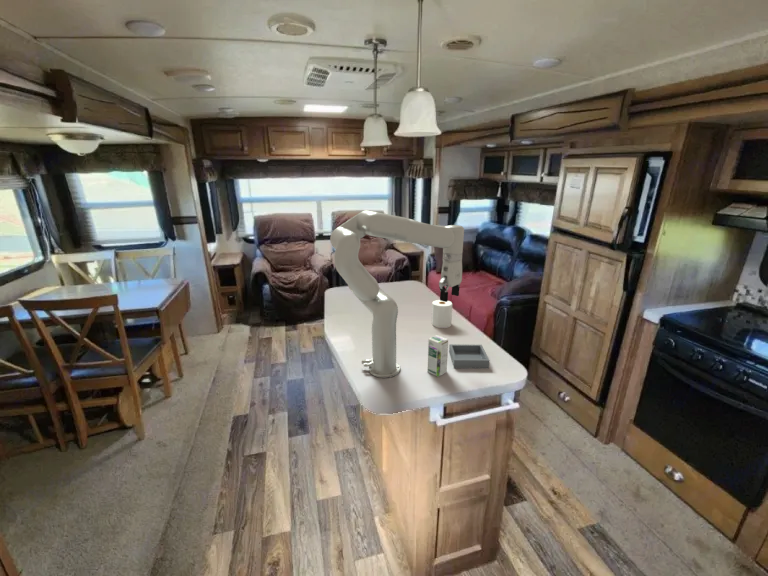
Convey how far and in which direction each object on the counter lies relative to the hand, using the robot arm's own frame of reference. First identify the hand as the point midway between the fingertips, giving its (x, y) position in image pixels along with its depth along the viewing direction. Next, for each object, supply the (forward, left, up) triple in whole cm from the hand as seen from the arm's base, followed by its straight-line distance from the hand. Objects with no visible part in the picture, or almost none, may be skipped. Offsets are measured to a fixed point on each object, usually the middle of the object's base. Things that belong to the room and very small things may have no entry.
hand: (449, 298), depth 143 cm
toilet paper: (+1, +35, -27) cm, 44 cm away
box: (+8, -3, -27) cm, 28 cm away
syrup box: (-6, -13, -27) cm, 30 cm away
